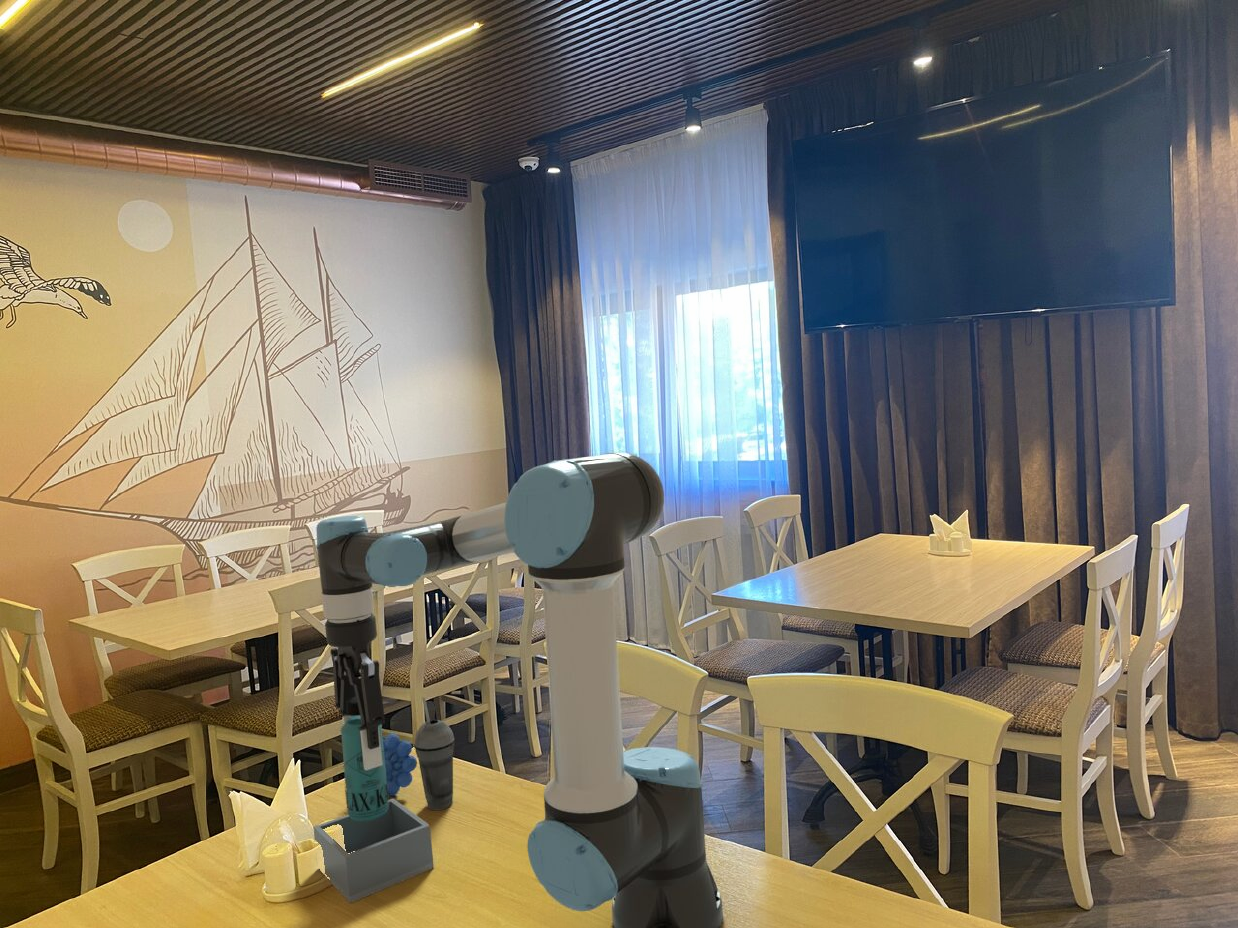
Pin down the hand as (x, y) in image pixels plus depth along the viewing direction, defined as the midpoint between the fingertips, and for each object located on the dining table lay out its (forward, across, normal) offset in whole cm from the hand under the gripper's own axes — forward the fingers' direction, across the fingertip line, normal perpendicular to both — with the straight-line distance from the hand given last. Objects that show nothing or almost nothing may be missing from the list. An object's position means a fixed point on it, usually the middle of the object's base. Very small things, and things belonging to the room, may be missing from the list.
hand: (364, 760), depth 142 cm
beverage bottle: (+10, 0, 0) cm, 10 cm away
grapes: (+18, +24, -14) cm, 33 cm away
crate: (+18, 0, 0) cm, 18 cm away
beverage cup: (+18, +13, -18) cm, 29 cm away
